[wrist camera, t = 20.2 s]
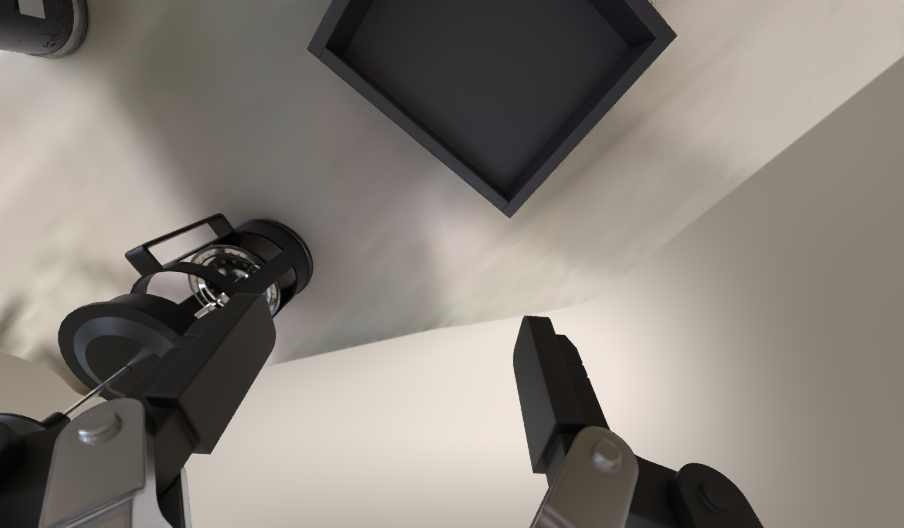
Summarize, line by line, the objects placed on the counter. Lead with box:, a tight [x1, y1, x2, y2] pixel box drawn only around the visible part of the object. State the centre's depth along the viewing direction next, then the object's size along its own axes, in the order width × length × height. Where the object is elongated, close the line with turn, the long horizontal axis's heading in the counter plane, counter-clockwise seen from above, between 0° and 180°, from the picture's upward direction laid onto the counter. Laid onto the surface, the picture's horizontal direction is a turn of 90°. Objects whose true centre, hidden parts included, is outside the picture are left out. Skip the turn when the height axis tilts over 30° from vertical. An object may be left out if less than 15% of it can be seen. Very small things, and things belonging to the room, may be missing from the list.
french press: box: [0, 213, 313, 435], centre depth 26 cm, size 12×9×23 cm
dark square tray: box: [307, 0, 677, 218], centre depth 26 cm, size 20×17×5 cm
